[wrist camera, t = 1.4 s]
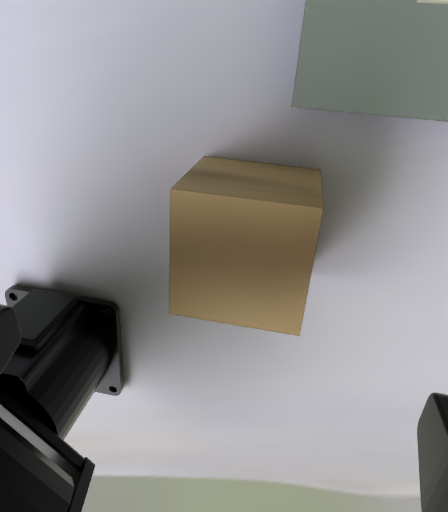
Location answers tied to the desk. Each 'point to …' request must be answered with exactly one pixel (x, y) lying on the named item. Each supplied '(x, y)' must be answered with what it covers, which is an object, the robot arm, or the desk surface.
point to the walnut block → (244, 243)
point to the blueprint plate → (374, 58)
